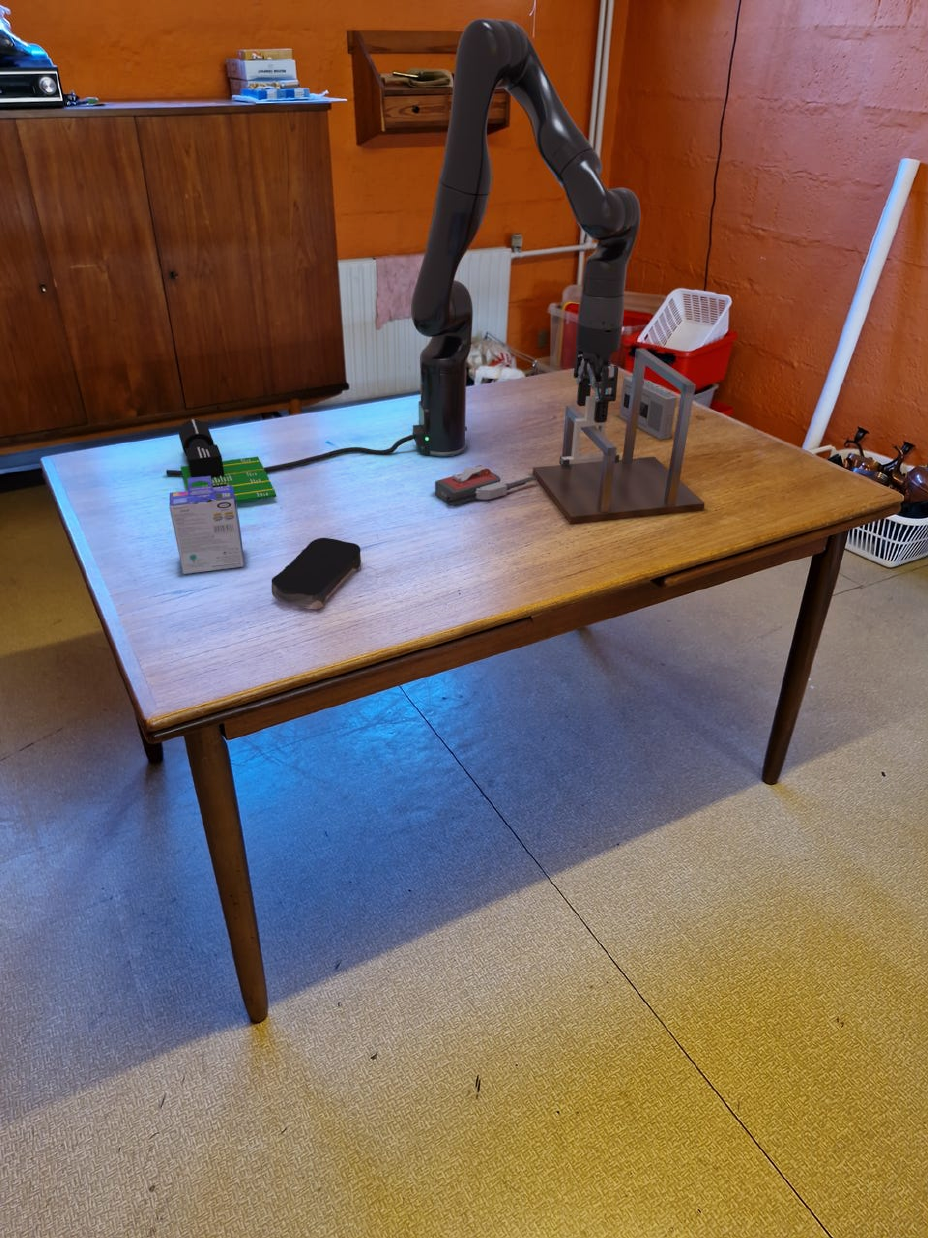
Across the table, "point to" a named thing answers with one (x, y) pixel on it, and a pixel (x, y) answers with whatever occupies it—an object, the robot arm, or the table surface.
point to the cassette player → (650, 408)
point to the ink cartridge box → (206, 527)
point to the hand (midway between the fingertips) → (591, 413)
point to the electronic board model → (221, 465)
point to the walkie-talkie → (474, 486)
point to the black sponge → (316, 572)
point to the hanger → (579, 423)
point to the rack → (624, 464)
